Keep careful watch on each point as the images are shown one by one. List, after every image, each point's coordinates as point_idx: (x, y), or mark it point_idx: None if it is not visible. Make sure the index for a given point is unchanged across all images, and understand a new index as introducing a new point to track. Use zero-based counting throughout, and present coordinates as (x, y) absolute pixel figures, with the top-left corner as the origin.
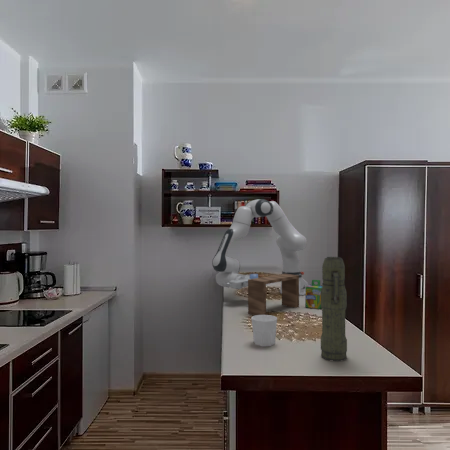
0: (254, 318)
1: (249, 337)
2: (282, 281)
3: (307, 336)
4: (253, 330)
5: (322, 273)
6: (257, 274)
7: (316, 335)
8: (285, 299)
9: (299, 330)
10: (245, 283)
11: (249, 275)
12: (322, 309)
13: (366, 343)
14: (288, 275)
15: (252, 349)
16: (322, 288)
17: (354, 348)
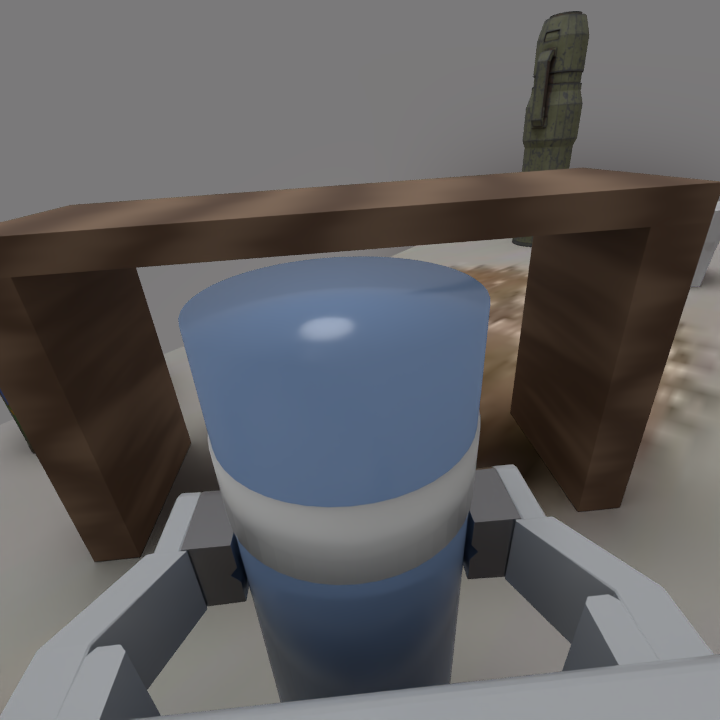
0: (717, 217)
1: (708, 302)
2: (47, 334)
3: (509, 276)
4: (712, 250)
5: (583, 55)
6: (285, 266)
7: (480, 275)
8: (138, 475)
9: (496, 295)
10: (621, 572)
11: (468, 367)
12: (571, 145)
13: (423, 249)
14: (115, 209)
15: (714, 271)
16: (580, 94)
17: (467, 246)
